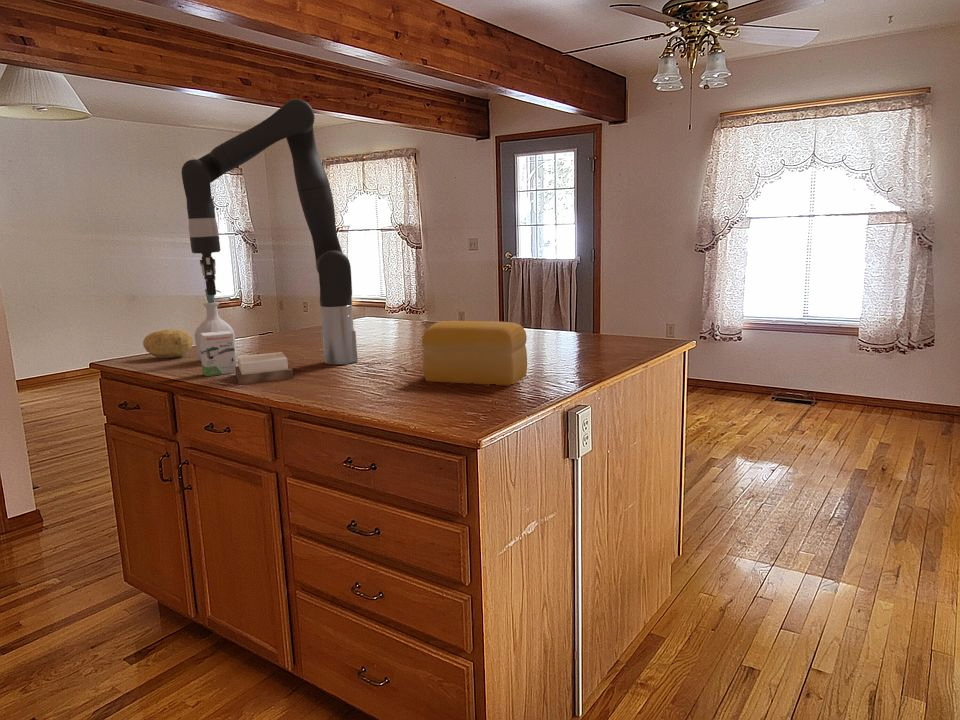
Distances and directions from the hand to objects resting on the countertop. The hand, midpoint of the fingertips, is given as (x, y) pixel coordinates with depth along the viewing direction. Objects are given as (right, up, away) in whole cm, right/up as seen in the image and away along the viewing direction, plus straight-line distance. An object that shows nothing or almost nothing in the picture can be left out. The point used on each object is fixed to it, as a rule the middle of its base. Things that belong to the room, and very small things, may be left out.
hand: (211, 294), depth 192 cm
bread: (+74, -24, -14) cm, 79 cm away
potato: (-26, -18, +33) cm, 46 cm away
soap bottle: (-8, -19, +25) cm, 32 cm away
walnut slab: (+16, -24, -2) cm, 28 cm away
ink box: (+1, -23, +5) cm, 23 cm away
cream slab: (+15, -21, -3) cm, 26 cm away
